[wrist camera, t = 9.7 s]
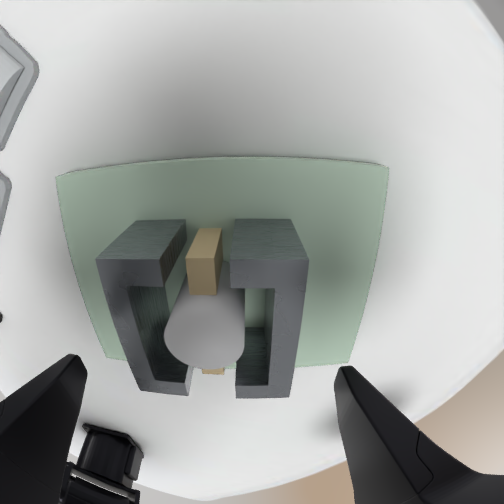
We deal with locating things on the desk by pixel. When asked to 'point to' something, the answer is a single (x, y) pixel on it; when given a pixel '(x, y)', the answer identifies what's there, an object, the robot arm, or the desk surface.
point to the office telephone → (12, 97)
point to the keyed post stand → (220, 241)
